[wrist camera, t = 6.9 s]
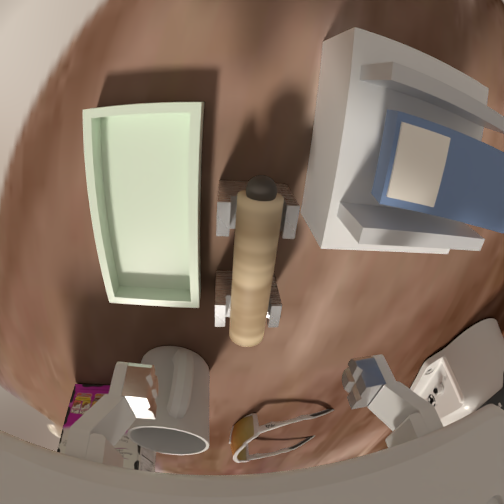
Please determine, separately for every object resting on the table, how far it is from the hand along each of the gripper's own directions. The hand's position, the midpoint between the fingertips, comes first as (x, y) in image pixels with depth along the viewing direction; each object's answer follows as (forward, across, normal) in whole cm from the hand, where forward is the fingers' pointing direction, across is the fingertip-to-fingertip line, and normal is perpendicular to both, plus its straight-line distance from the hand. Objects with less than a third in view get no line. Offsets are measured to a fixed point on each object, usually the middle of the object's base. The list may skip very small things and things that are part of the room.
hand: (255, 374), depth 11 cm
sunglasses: (+12, -8, +32) cm, 35 cm away
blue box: (+3, -9, -8) cm, 13 cm away
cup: (+12, +5, +14) cm, 19 cm away
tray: (+12, +6, -2) cm, 13 cm away
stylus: (+7, -1, 0) cm, 7 cm away
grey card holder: (+11, -9, -8) cm, 17 cm away
